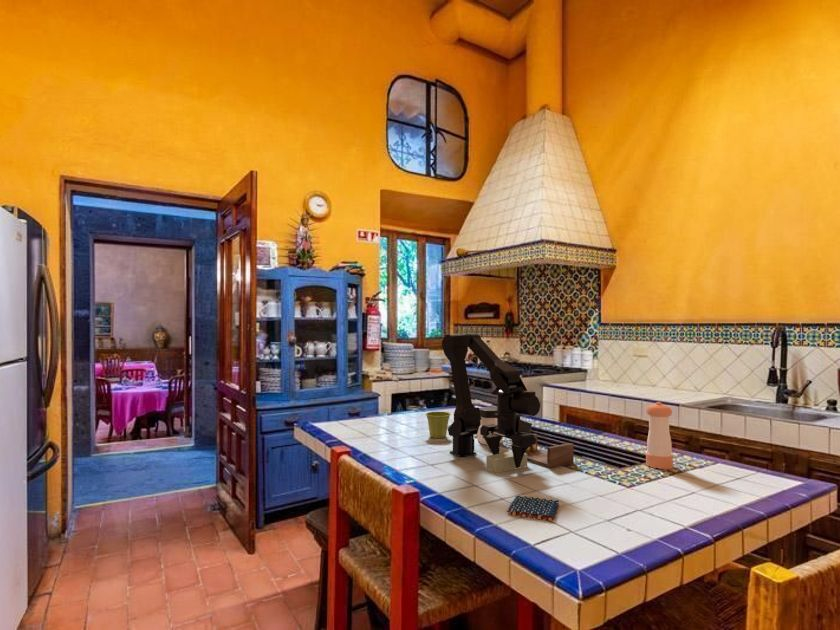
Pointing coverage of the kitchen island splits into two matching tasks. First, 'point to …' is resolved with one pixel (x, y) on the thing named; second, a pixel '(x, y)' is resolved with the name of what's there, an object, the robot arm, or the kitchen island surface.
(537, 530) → the kitchen island surface
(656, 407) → the pepper shaker
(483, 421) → the jar
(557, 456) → the shelf frame
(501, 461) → the beige rectangular block
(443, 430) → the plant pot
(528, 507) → the woven mat
